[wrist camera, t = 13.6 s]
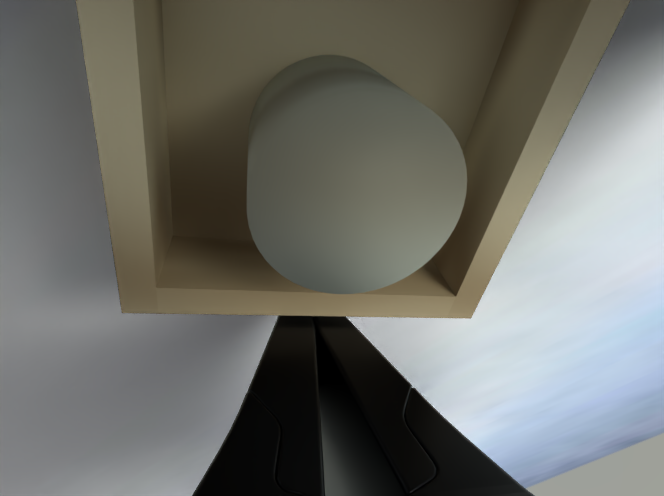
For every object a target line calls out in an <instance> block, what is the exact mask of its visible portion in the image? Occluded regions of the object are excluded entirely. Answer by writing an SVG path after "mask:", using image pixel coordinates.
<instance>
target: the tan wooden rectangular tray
mask: <svg viewBox="0 0 664 496" xmlns="http://www.w3.org/2000/svg"><path fill="white" fill-rule="evenodd" d="M629 2H630V0H76V6H77V13H78V20H79V26H80V33H81V40H82V47H83V53H84V60H85V67H86V74H87V80H88V87H89V94H90V101H91V108H92V114H93V121H94V128H95V135H96V141H97V148H98V155H99V162H100V168H101V175H102V182H103V189H104V195H105V202H106V209H107V216H108V222H109V229H110V236H111V243H112V249H113V256H114V263H115V270H116V277H117V283H118V290H119V297H120V304H121V310H122V313H156V314H221V315H286V316H351V317H416V318H471V317H472V315H473V313H474V311H475V309H476V307H477V305H478V303H479V301H480V299H481V297H482V295H483V293H484V291H485V289H486V287H487V285H488V283H489V281H490V279H491V277H492V275H493V273H494V271H495V269H496V267H497V265H498V263H499V261H500V259H501V257H502V255H503V253H504V251H505V249H506V247H507V245H508V243H509V241H510V239H511V237H512V235H513V233H514V231H515V229H516V227H517V225H518V223H519V221H520V219H521V217H522V215H523V213H524V211H525V209H526V208H527V206H528V204H529V202H530V200H531V198H532V196H533V194H534V192H535V190H536V188H537V186H538V184H539V182H540V180H541V178H542V176H543V174H544V172H545V170H546V168H547V166H548V164H549V162H550V160H551V158H552V156H553V154H554V152H555V150H556V148H557V146H558V144H559V142H560V140H561V138H562V136H563V134H564V132H565V130H566V128H567V126H568V124H569V122H570V120H571V118H572V116H573V114H574V112H575V110H576V108H577V106H578V104H579V102H580V100H581V98H582V96H583V94H584V92H585V90H586V88H587V86H588V84H589V82H590V80H591V78H592V76H593V74H594V72H595V70H596V68H597V66H598V64H599V62H600V60H601V58H602V56H603V54H604V52H605V50H606V48H607V46H608V44H609V42H610V40H611V38H612V36H613V34H614V32H615V30H616V28H617V26H618V24H619V22H620V20H621V18H622V16H623V14H624V12H625V10H626V8H627V6H628V4H629Z"/></svg>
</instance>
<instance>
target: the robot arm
mask: <svg viewBox="0 0 664 496" xmlns="http://www.w3.org/2000/svg"><path fill="white" fill-rule="evenodd" d="M411 388H412V385H411V384H410V383H409V382H408V381H407V380H406V379H405V378H404V377H403V376H402V375H401V374H400V373H399V371H398V370H397V369H396V368H395V367H394V366H393V365H392V364H391V363H390V362H389V361H388V360H387V359H386V358H385V357H384V356H383V355H382V354H381V353H380V352H379V351H378V350H377V349H376V348H375V347H374V346H373V345H372V344H371V342H370V341H369V340H368V339H367V338H366V337H365V336H364V335H363V334H362V333H361V332H360V331H359V330H358V329H357V328H356V327H355V326H354V325H353V324H352V323H351V322H350V321H349V320H348V319H347V318H346V317H345V316H286V315H279V316H278V319H277V321H276V323H275V326H274V328H273V331H272V333H271V336H270V338H269V340H268V343H267V345H266V348H265V350H264V352H263V355H262V357H261V360H260V362H259V365H258V367H257V369H256V372H255V374H254V377H253V379H252V381H251V384H250V386H249V389H248V392H247V393H246V395H245V398H244V400H243V403H242V405H241V407H240V410H239V412H238V414H237V416H236V418H235V420H234V423H233V425H232V427H231V429H230V431H229V433H228V435H227V436H226V438H225V440H224V442H223V444H222V446H221V447H220V449H219V451H218V453H217V455H216V456H215V458H214V460H213V461H212V463H211V465H210V466H209V468H208V470H207V472H206V473H205V475H204V477H203V478H202V480H201V482H200V483H199V485H198V487H197V488H196V490H195V492H194V493H193V495H192V496H535V495H533V494H532V493H530V492H529V491H528V490H526V489H525V488H524V487H523V486H521V485H520V484H519V483H518V482H517V481H516V480H514V479H513V478H512V477H511V476H510V475H509V474H507V473H506V472H505V471H504V470H503V469H502V468H501V467H499V466H498V465H497V464H496V463H495V462H494V461H493V460H491V459H490V458H489V457H488V456H487V455H486V454H484V453H483V452H482V451H481V450H480V449H479V448H478V447H476V446H475V445H474V444H473V443H472V442H471V441H470V440H468V439H467V438H466V437H465V436H464V435H463V434H462V433H461V432H459V431H458V430H457V429H456V428H455V427H454V426H453V425H452V424H451V423H449V422H448V421H447V420H446V419H445V418H444V417H443V416H442V415H441V414H440V413H439V412H438V411H437V410H436V409H435V408H434V407H433V406H432V405H431V404H430V403H429V402H428V401H427V400H426V399H425V398H424V397H423V396H422V395H421V394H420V393H419V392H418V391H417V390H416V389H415V388H412V389H411Z"/></svg>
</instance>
